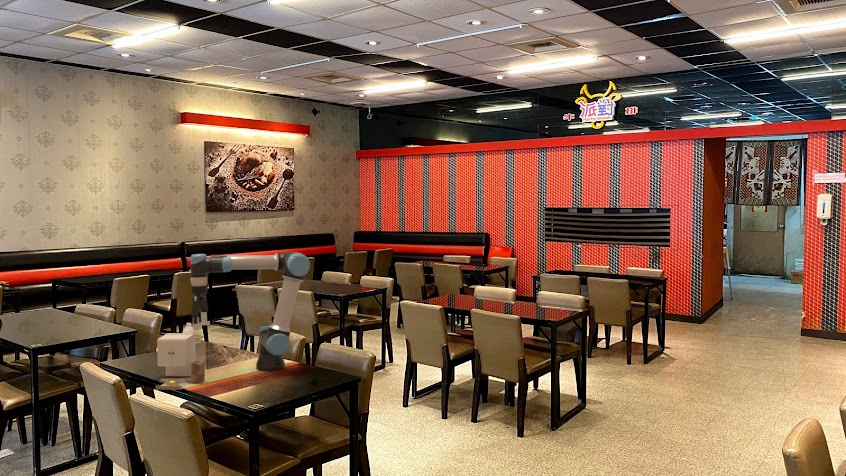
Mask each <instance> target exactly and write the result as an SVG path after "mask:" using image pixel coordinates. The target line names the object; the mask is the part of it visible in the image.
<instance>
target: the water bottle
mask: <svg viewBox="0 0 846 476" xmlns="http://www.w3.org/2000/svg"><path fill="white" fill-rule="evenodd" d="M182 333H194V361H196V357H197V356H196V355H197V354H196V330H193V325H192V322H186V325H185V327H184V329H183V330H182Z"/></svg>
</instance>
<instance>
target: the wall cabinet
mask: <svg viewBox="0 0 846 476" xmlns="http://www.w3.org/2000/svg"><path fill="white" fill-rule="evenodd" d="M156 341H157V342H156V346H157V348H156V349H157V352H156V354H157V367H165V377H191V364H192V363H193V362H194V333H183V332H181V333H179V332H176V333H175V332H173V333H165V334H164V335H163V336H160V337H159V338H157V340H156Z"/></svg>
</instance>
